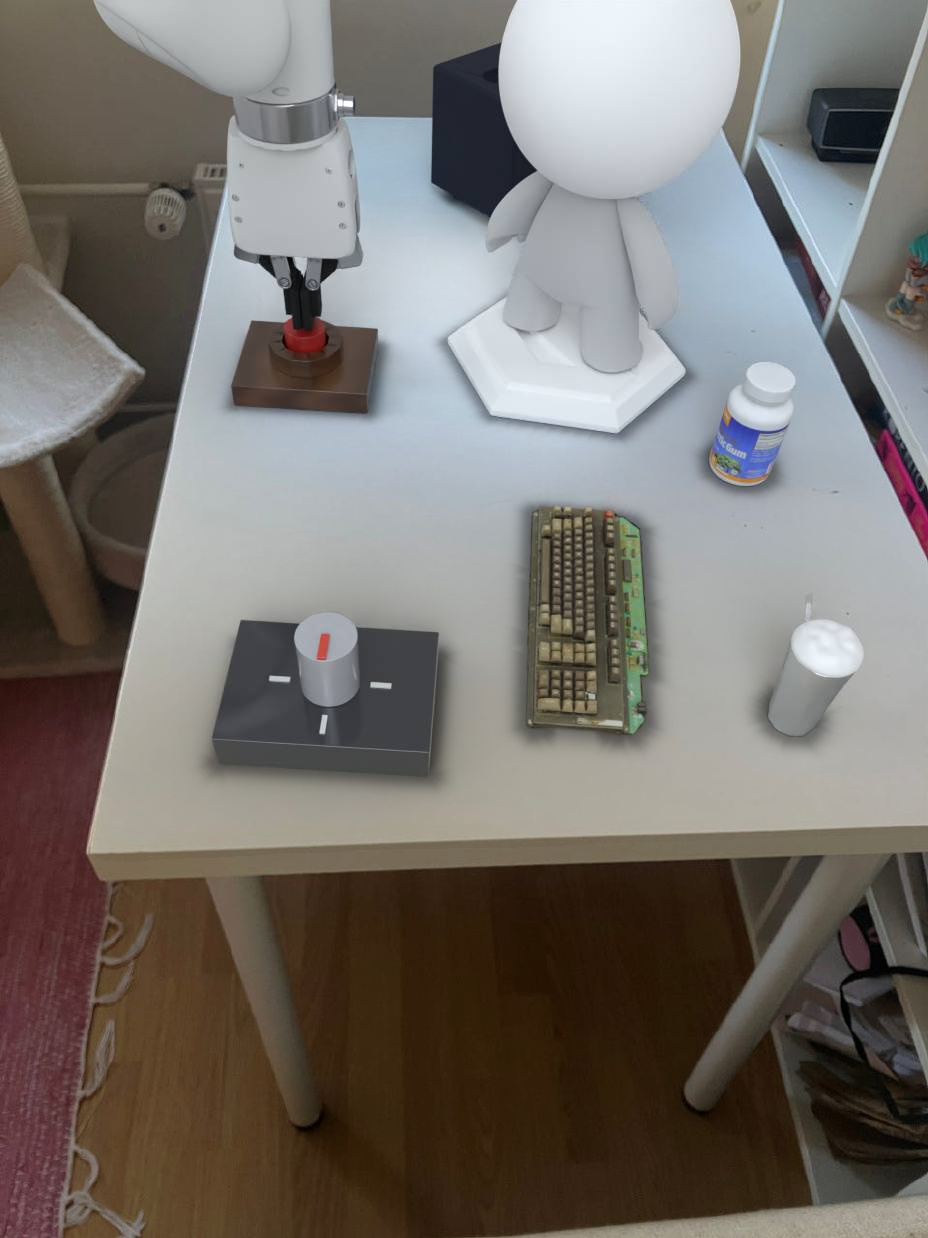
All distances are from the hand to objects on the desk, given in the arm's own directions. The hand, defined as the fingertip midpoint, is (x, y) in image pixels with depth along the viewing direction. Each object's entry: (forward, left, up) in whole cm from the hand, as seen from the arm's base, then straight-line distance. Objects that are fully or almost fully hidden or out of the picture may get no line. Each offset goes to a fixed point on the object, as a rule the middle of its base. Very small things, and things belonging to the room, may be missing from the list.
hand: (305, 320), depth 89 cm
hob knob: (+7, -37, -3) cm, 38 cm away
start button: (0, 0, -2) cm, 2 cm away
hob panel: (+7, -37, -6) cm, 38 cm away
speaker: (+21, +38, -6) cm, 44 cm away
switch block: (0, 0, -6) cm, 6 cm away
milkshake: (+39, -35, -6) cm, 53 cm away
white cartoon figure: (+24, +5, -6) cm, 25 cm away
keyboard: (+25, -27, -6) cm, 37 cm away
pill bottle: (+39, -9, -6) cm, 40 cm away
